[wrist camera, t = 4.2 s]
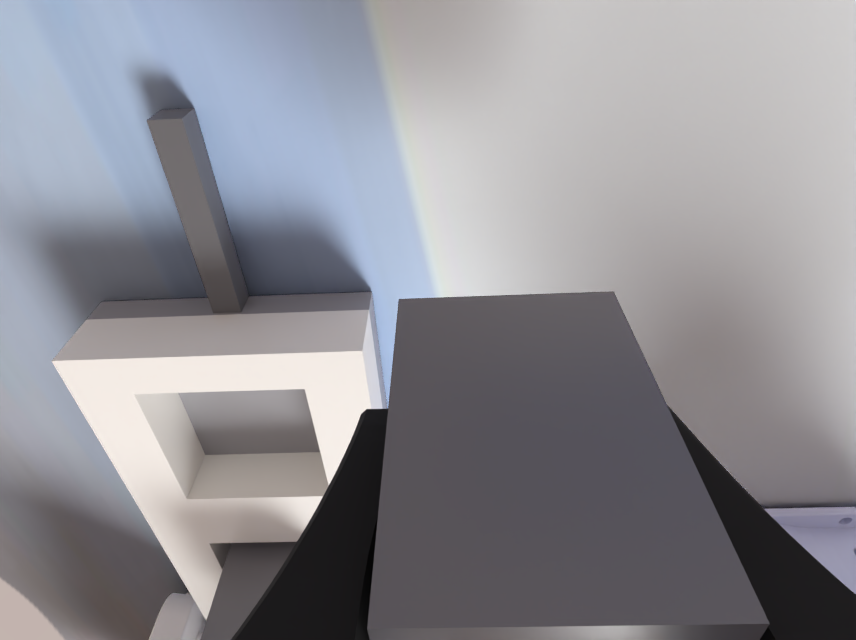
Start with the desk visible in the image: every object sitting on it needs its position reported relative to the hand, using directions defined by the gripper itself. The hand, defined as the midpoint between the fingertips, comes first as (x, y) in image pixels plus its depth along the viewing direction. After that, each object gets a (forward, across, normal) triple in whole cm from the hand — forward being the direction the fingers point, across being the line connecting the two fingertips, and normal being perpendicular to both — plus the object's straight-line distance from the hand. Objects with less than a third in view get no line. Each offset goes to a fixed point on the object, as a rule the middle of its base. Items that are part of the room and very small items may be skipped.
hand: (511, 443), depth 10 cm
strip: (+8, +8, +7) cm, 13 cm away
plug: (+2, 0, 0) cm, 2 cm away
